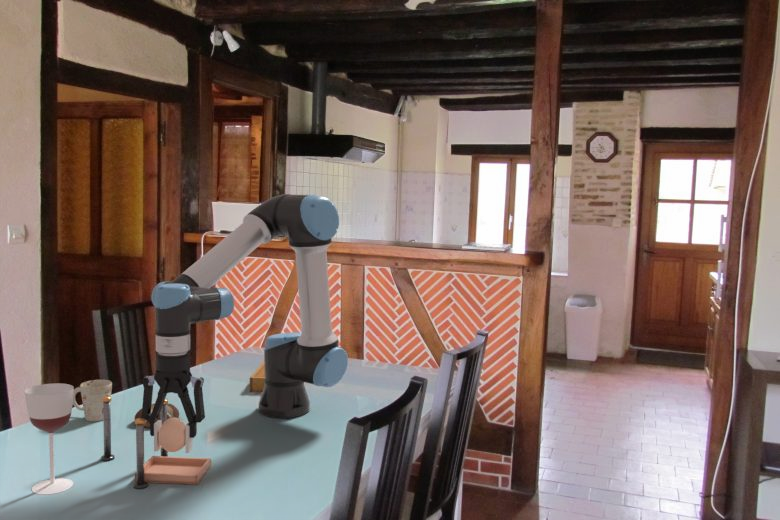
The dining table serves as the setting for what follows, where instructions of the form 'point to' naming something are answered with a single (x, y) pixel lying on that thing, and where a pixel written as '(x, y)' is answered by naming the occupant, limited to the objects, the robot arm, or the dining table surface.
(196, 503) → the dining table surface
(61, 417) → the wineglass
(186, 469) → the tray
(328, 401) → the dining table surface
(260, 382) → the tray
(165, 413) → the pole corner
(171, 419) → the egg
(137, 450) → the pole
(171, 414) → the bread
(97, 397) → the mug
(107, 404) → the pole
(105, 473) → the dining table surface
